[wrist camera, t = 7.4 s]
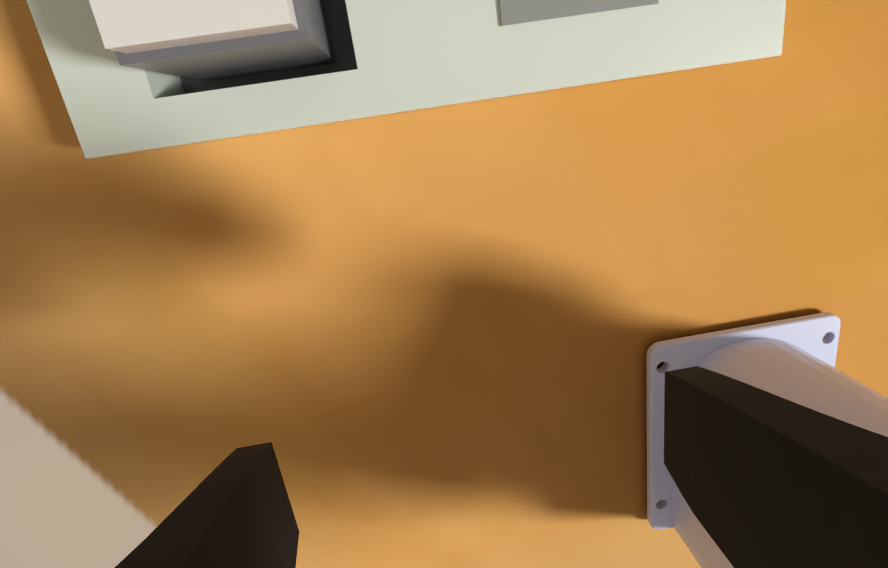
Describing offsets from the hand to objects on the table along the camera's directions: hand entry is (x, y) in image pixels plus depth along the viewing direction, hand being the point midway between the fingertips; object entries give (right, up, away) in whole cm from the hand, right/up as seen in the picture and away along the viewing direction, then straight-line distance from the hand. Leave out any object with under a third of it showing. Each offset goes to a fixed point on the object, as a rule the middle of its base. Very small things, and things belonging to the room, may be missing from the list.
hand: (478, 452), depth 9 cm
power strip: (+2, +13, +6) cm, 15 cm away
